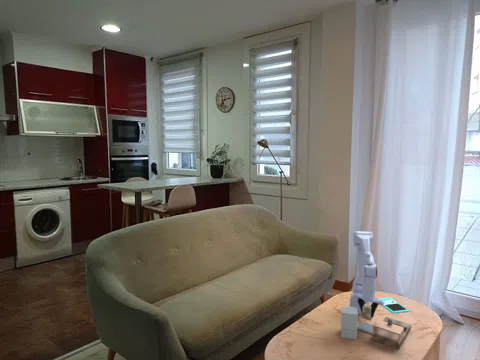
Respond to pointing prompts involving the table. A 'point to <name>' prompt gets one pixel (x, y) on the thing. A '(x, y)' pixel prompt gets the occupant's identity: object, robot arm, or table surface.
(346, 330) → the supplement box
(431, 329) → the table surface
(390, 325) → the slide cover
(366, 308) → the birch block
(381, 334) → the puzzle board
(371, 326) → the slate mat
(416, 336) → the table surface
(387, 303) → the handheld game console
